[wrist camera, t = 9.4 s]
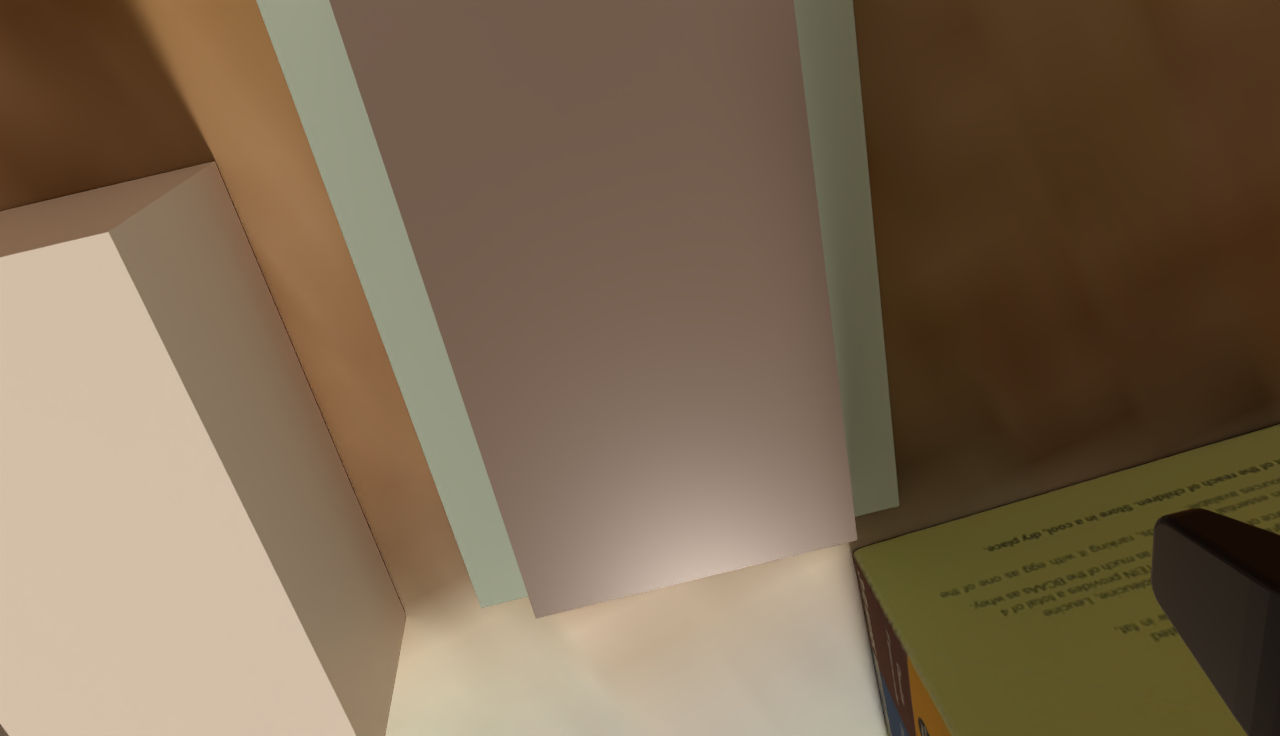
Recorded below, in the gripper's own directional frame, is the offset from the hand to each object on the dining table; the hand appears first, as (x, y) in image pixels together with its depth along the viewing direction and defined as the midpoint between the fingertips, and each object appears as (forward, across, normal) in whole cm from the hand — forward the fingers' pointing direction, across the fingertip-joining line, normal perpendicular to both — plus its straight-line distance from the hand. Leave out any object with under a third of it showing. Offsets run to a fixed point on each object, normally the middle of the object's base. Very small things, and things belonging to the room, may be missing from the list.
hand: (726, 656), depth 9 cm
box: (+12, +10, +2) cm, 16 cm away
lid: (+12, 0, 0) cm, 12 cm away
